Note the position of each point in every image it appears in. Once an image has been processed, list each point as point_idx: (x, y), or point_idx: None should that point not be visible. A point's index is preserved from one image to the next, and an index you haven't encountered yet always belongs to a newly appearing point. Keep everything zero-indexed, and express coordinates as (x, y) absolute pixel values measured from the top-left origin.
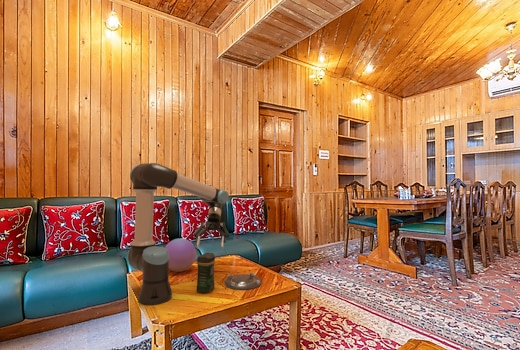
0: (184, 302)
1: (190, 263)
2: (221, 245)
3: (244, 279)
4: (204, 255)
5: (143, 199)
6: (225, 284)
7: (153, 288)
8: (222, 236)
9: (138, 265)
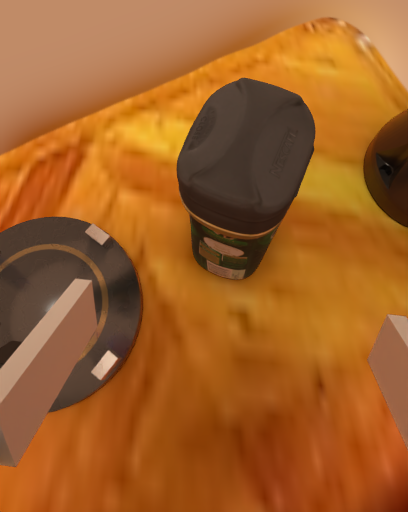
0: None
1: None
2: (87, 285)
3: (32, 315)
4: (260, 94)
5: None
6: (139, 282)
7: None
8: (1, 399)
9: None
